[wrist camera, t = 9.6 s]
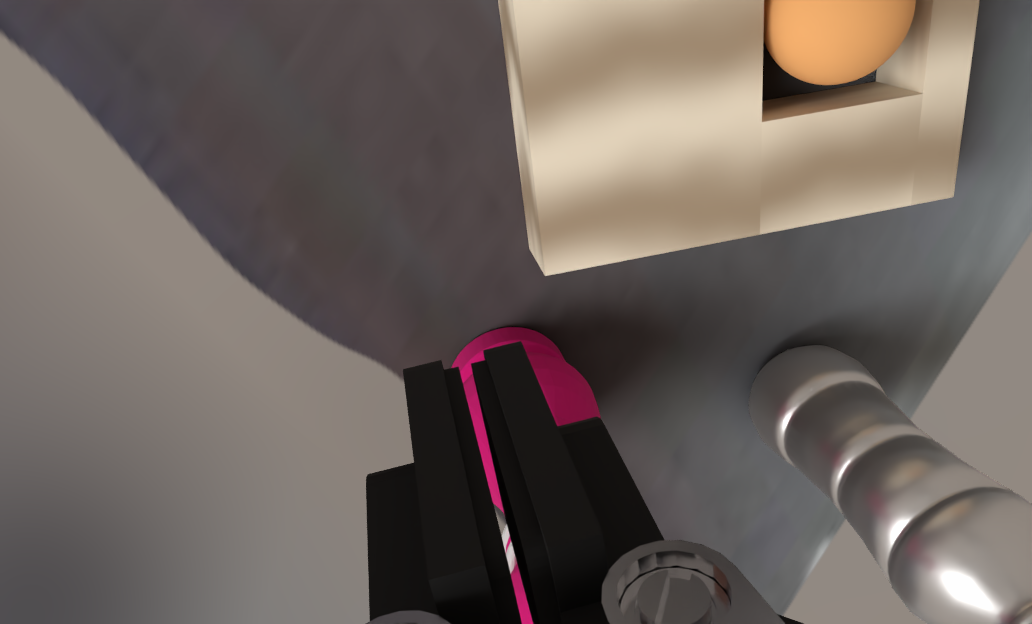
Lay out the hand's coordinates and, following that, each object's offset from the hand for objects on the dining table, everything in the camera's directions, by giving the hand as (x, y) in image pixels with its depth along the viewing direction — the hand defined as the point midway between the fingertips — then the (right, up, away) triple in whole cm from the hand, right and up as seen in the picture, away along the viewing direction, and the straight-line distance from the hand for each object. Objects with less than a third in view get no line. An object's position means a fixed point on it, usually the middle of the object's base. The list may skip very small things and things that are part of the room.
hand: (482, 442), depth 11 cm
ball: (+14, +14, +22) cm, 29 cm away
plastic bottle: (+16, -2, +34) cm, 37 cm away
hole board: (+10, +15, +24) cm, 30 cm away
